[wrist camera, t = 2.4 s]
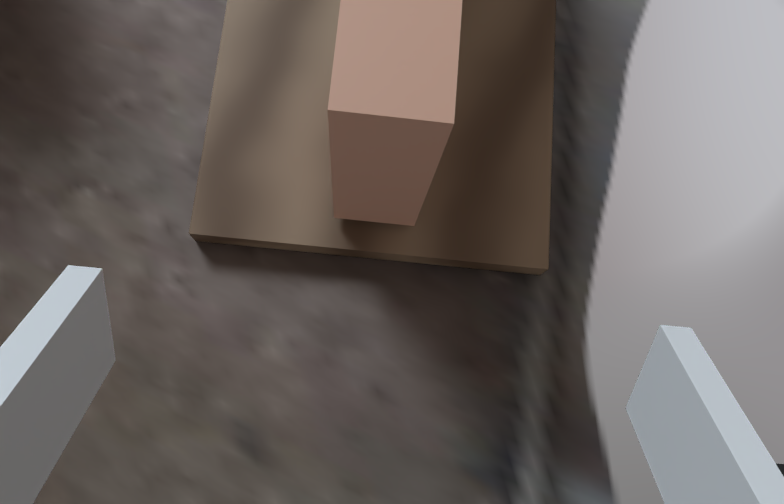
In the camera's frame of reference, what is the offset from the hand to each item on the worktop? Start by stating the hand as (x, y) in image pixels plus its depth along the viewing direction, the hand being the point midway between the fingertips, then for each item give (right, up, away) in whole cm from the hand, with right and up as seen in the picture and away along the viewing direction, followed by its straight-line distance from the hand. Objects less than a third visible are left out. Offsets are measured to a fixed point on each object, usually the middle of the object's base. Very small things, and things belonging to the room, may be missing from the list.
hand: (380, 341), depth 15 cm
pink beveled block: (0, +7, +17) cm, 19 cm away
